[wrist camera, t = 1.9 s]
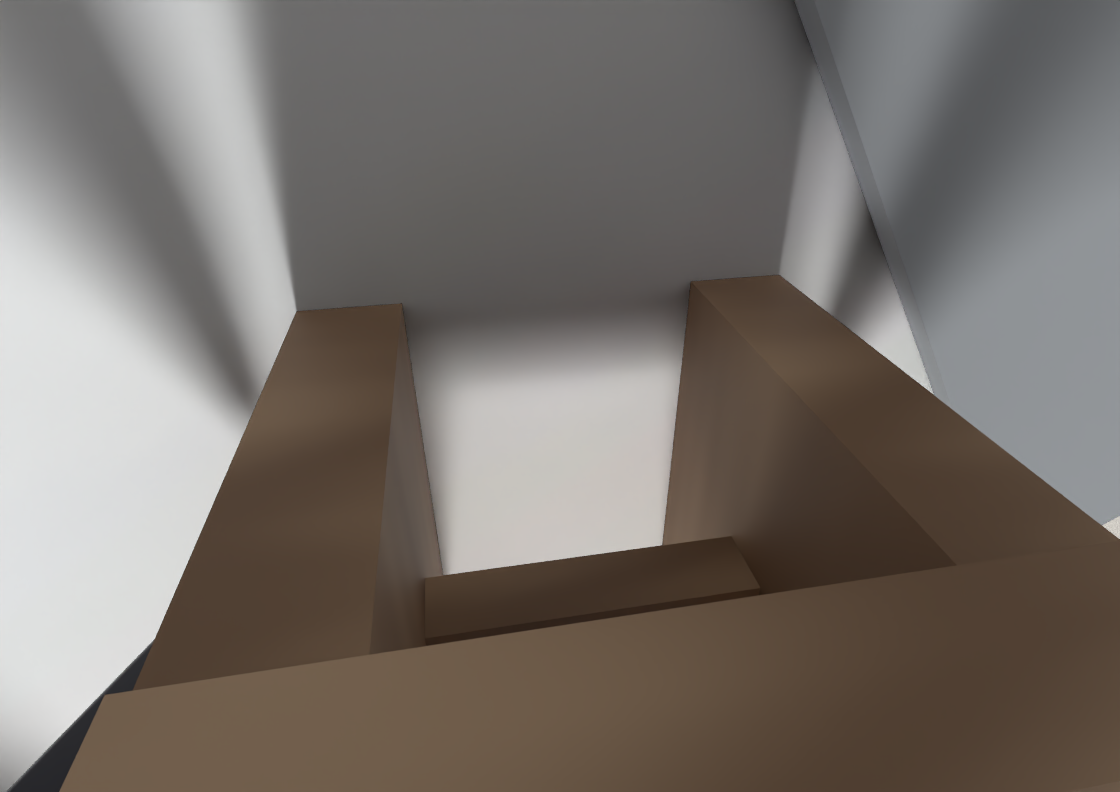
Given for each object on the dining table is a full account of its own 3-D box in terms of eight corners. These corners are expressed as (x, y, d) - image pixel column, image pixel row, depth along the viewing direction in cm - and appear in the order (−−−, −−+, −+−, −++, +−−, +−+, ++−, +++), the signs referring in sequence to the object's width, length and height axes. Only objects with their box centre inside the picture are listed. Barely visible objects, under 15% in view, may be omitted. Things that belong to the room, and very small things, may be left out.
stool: (781, 260, 8) (1410, 718, 3) (721, 583, 11) (971, 1077, 6) (293, 294, 7) (-56, 1033, 2) (377, 634, 10) (324, 1261, 5)
